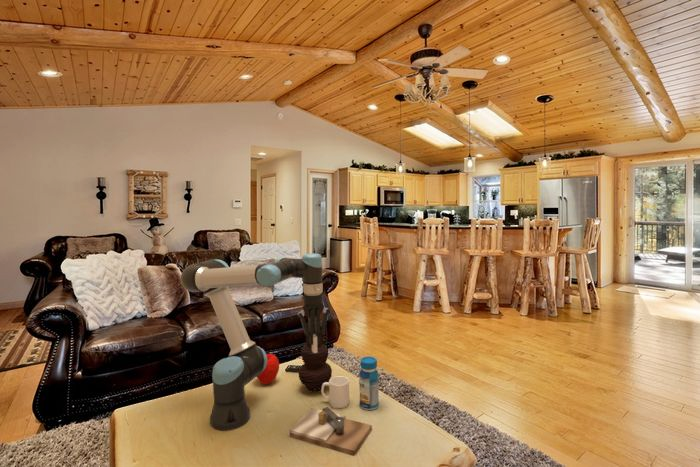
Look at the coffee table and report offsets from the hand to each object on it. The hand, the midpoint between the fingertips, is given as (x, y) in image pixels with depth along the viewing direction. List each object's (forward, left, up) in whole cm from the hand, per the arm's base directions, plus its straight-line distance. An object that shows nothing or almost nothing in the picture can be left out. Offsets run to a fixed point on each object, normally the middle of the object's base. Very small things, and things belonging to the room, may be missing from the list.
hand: (314, 351), depth 151 cm
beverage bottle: (+17, +15, -27) cm, 35 cm away
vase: (-11, +19, -27) cm, 34 cm away
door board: (+11, -8, -26) cm, 30 cm away
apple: (-35, +15, -27) cm, 47 cm away
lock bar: (+11, -7, -25) cm, 28 cm away
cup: (+3, +11, -27) cm, 29 cm away
